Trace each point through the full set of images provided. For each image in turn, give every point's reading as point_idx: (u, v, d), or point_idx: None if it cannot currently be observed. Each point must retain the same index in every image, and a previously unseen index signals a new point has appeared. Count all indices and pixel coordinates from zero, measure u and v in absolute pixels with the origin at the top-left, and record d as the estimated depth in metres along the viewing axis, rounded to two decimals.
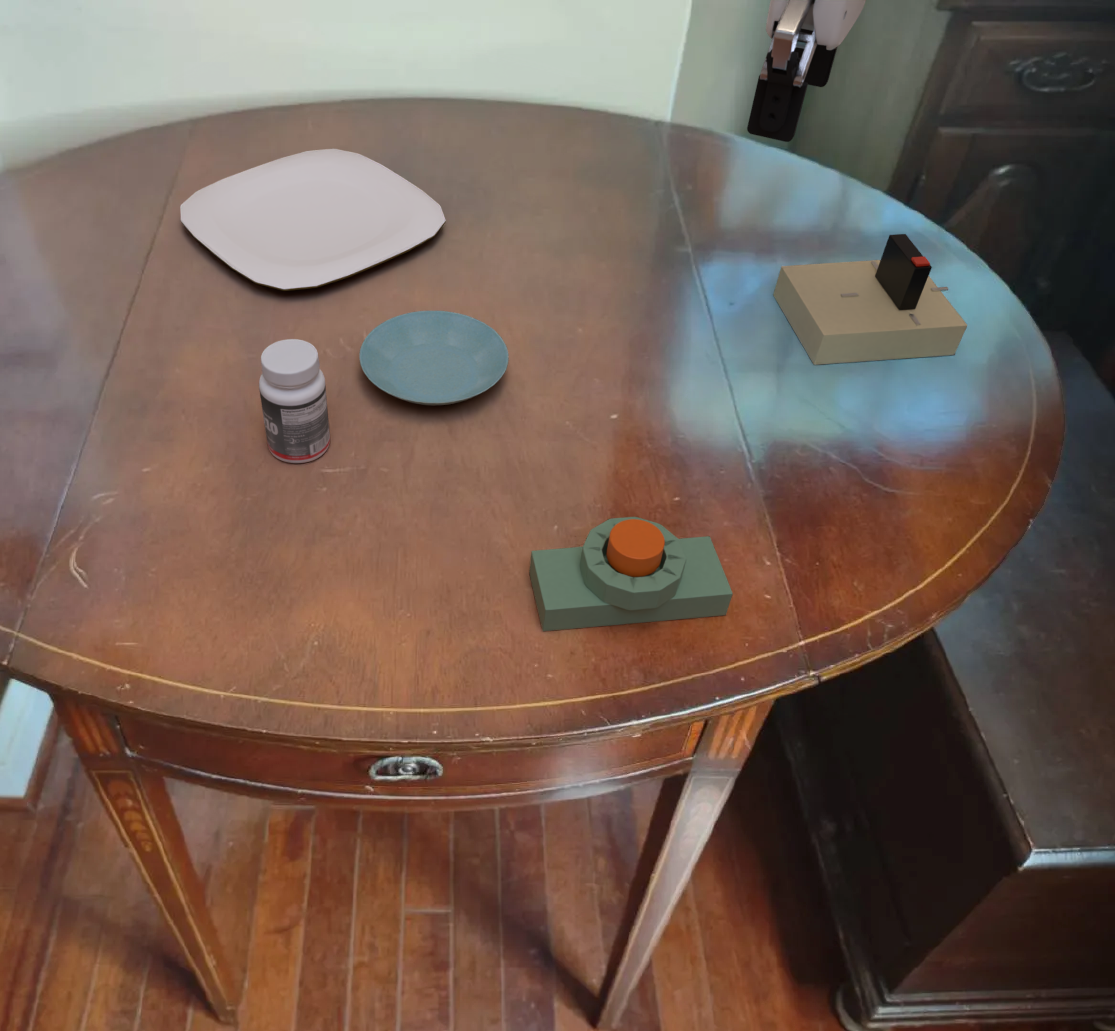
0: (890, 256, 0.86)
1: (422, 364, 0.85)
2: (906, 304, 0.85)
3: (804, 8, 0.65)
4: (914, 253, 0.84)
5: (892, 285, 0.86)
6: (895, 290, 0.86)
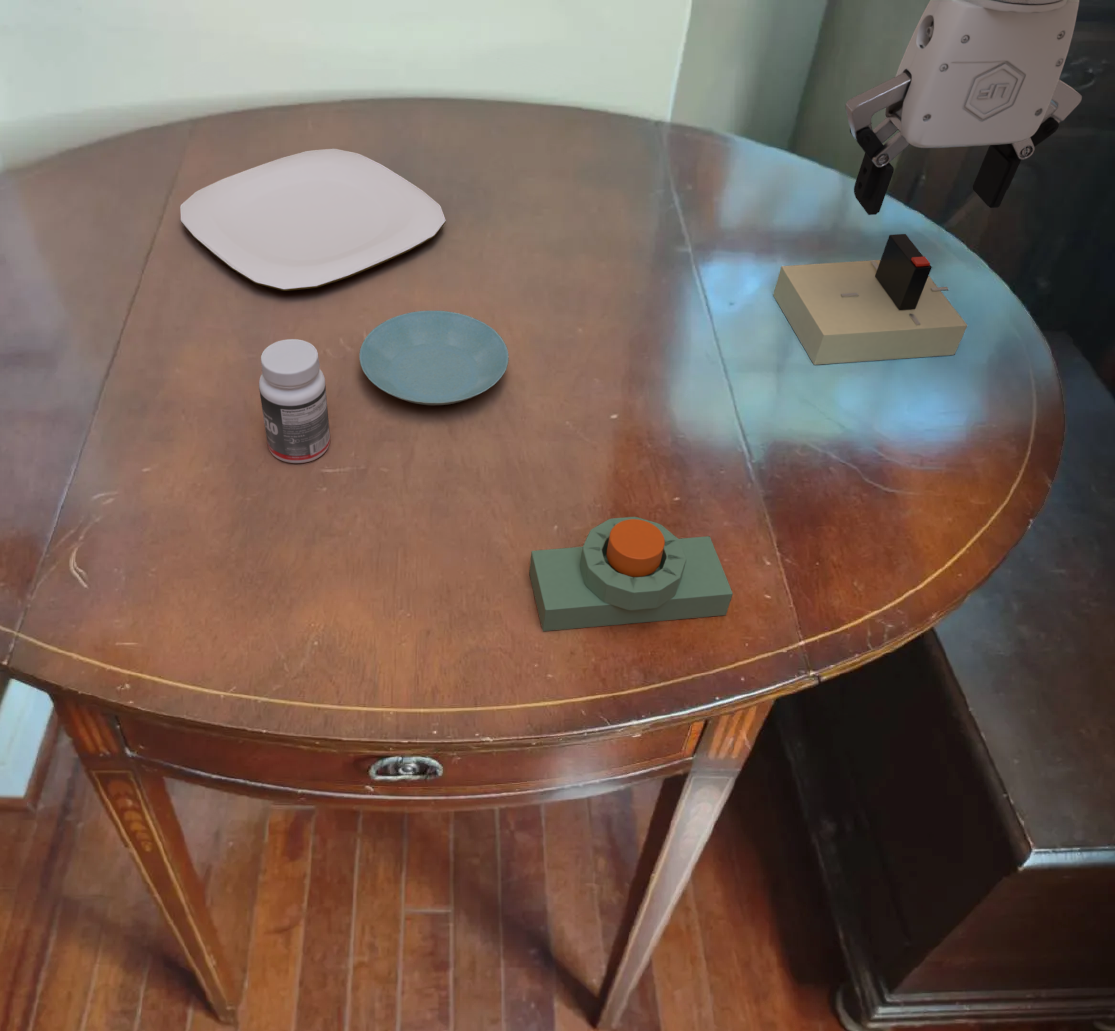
0: (890, 256, 0.86)
1: (422, 364, 0.85)
2: (906, 304, 0.85)
3: (882, 93, 0.74)
4: (914, 253, 0.84)
5: (892, 285, 0.86)
6: (895, 290, 0.86)
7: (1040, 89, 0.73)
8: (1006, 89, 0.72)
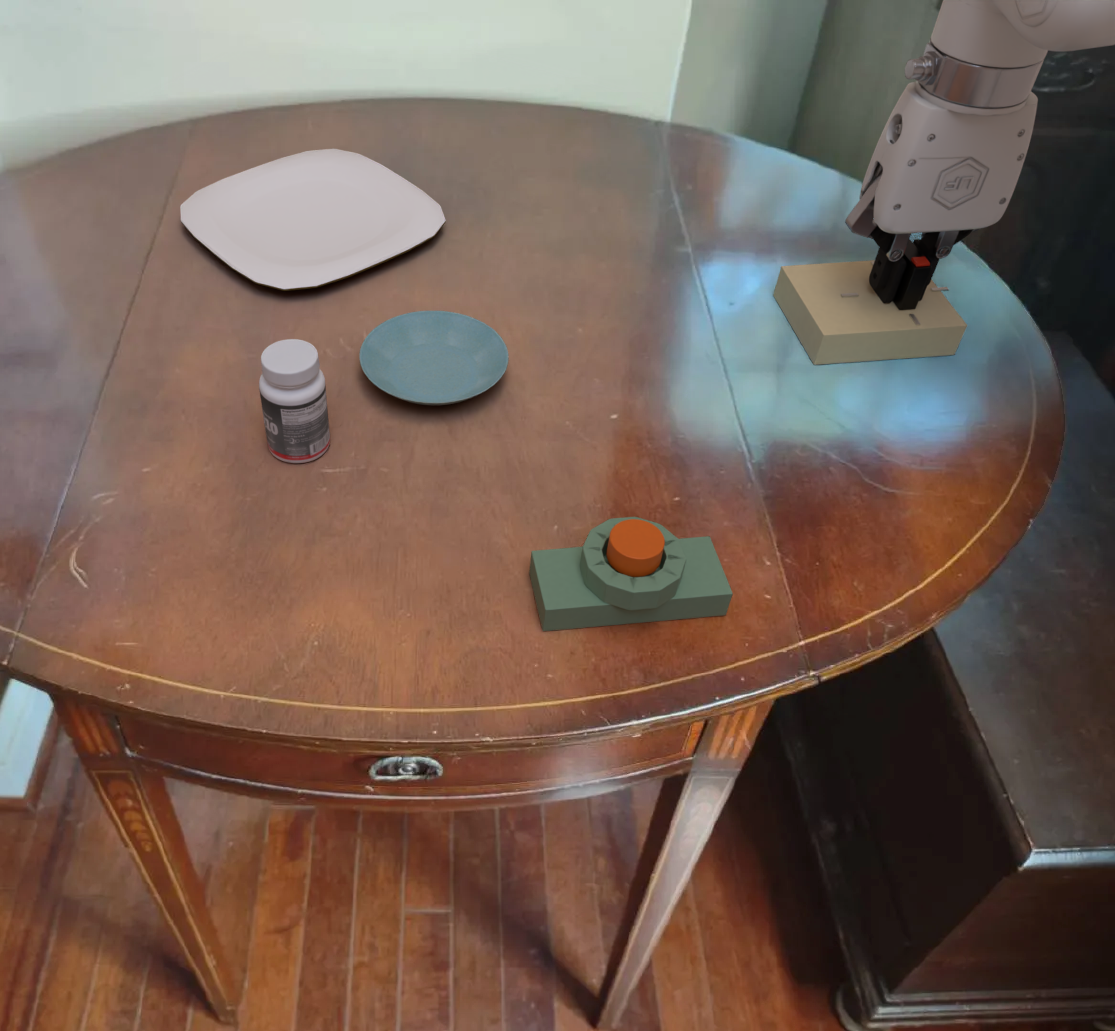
0: None
1: (422, 364, 0.85)
2: (906, 304, 0.85)
3: (867, 205, 0.80)
4: (914, 253, 0.84)
5: None
6: None
7: (1003, 181, 0.78)
8: (971, 181, 0.77)
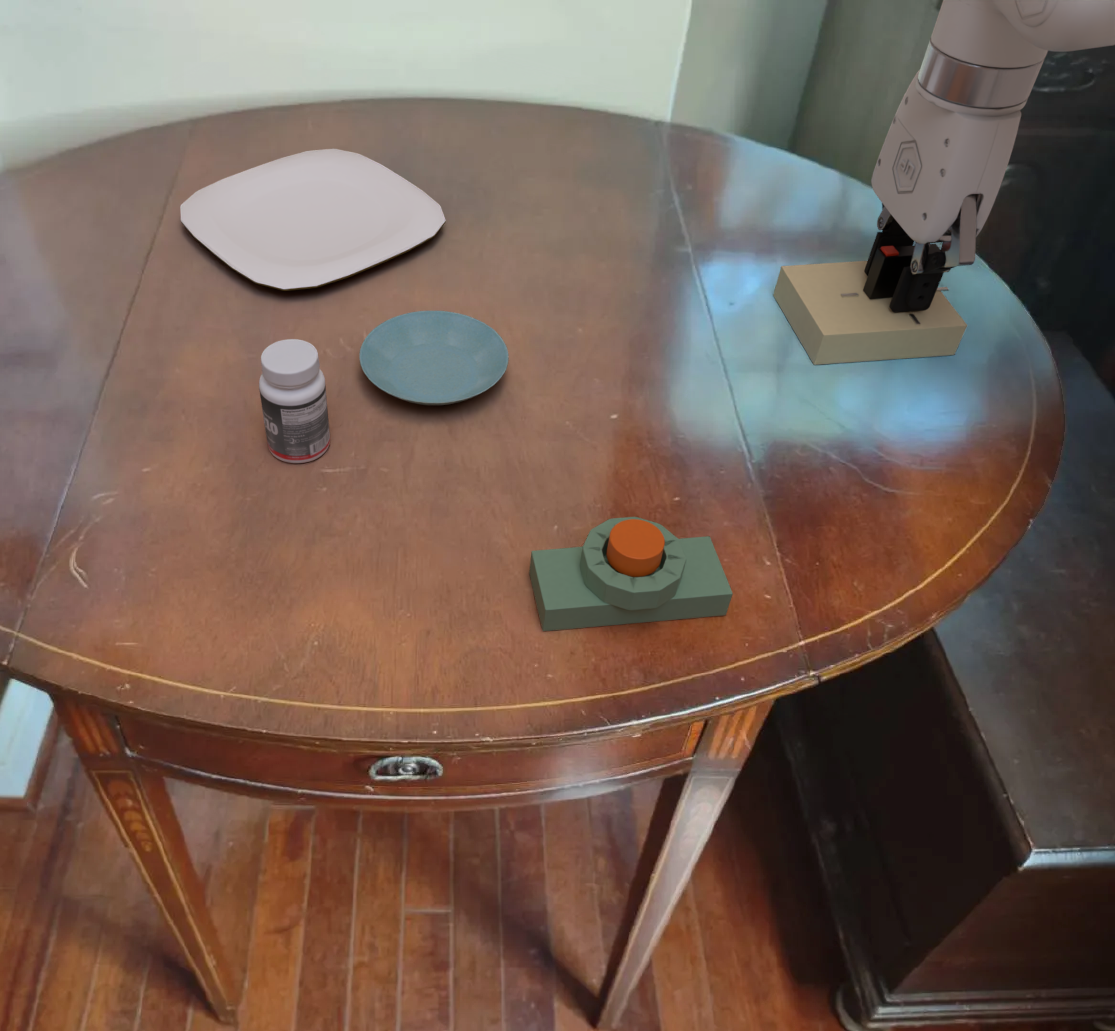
0: None
1: (422, 364, 0.85)
2: (866, 287, 0.87)
3: None
4: (905, 251, 0.84)
5: None
6: None
7: (928, 191, 0.77)
8: (912, 171, 0.78)
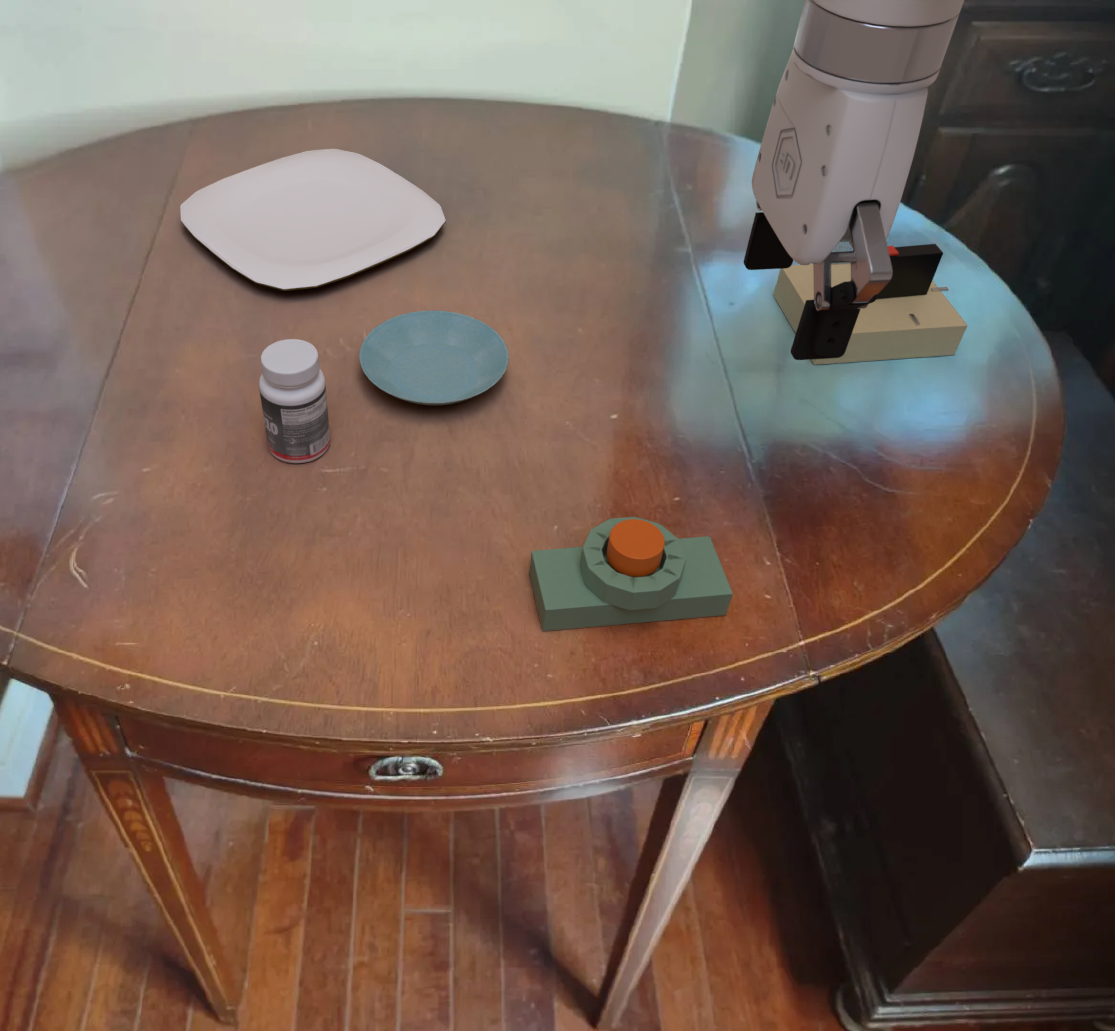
0: None
1: (422, 364, 0.85)
2: None
3: None
4: (905, 251, 0.84)
5: None
6: None
7: (808, 195, 0.57)
8: (792, 169, 0.59)
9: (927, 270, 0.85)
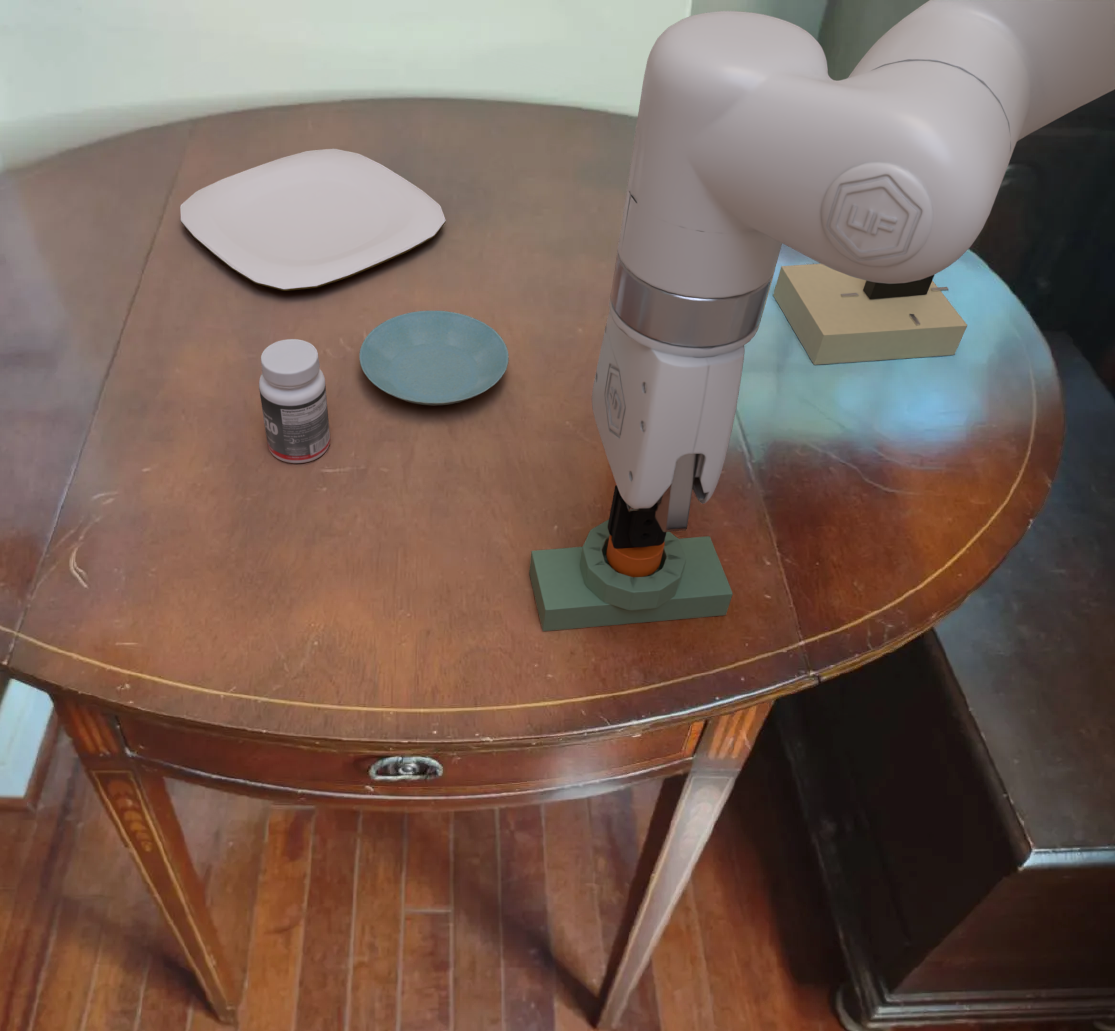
0: None
1: (422, 364, 0.85)
2: (866, 287, 0.87)
3: None
4: None
5: None
6: None
7: (632, 444, 0.54)
8: (618, 409, 0.56)
9: None
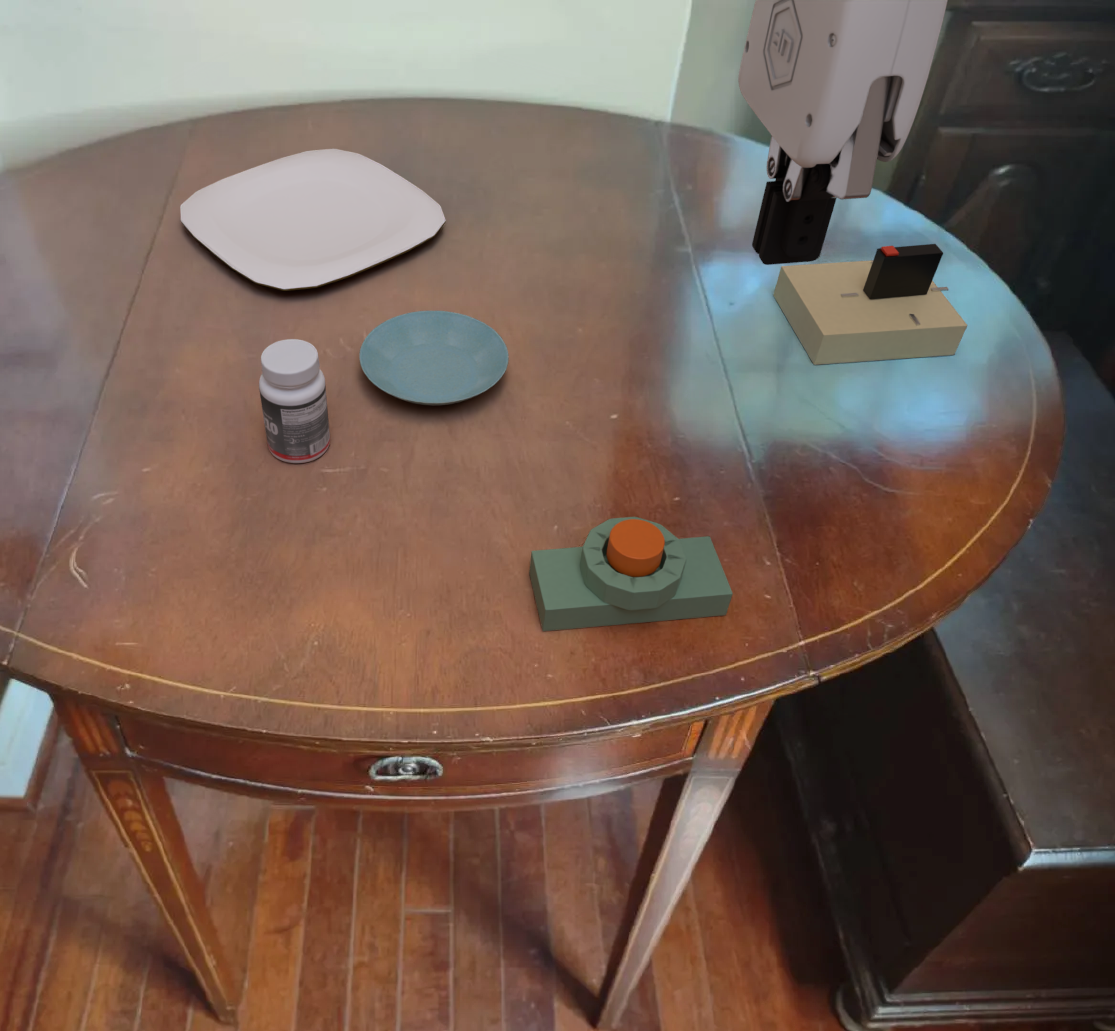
0: None
1: (422, 364, 0.85)
2: (866, 287, 0.87)
3: None
4: (905, 251, 0.84)
5: None
6: None
7: (812, 76, 0.46)
8: (789, 49, 0.48)
9: (927, 270, 0.85)
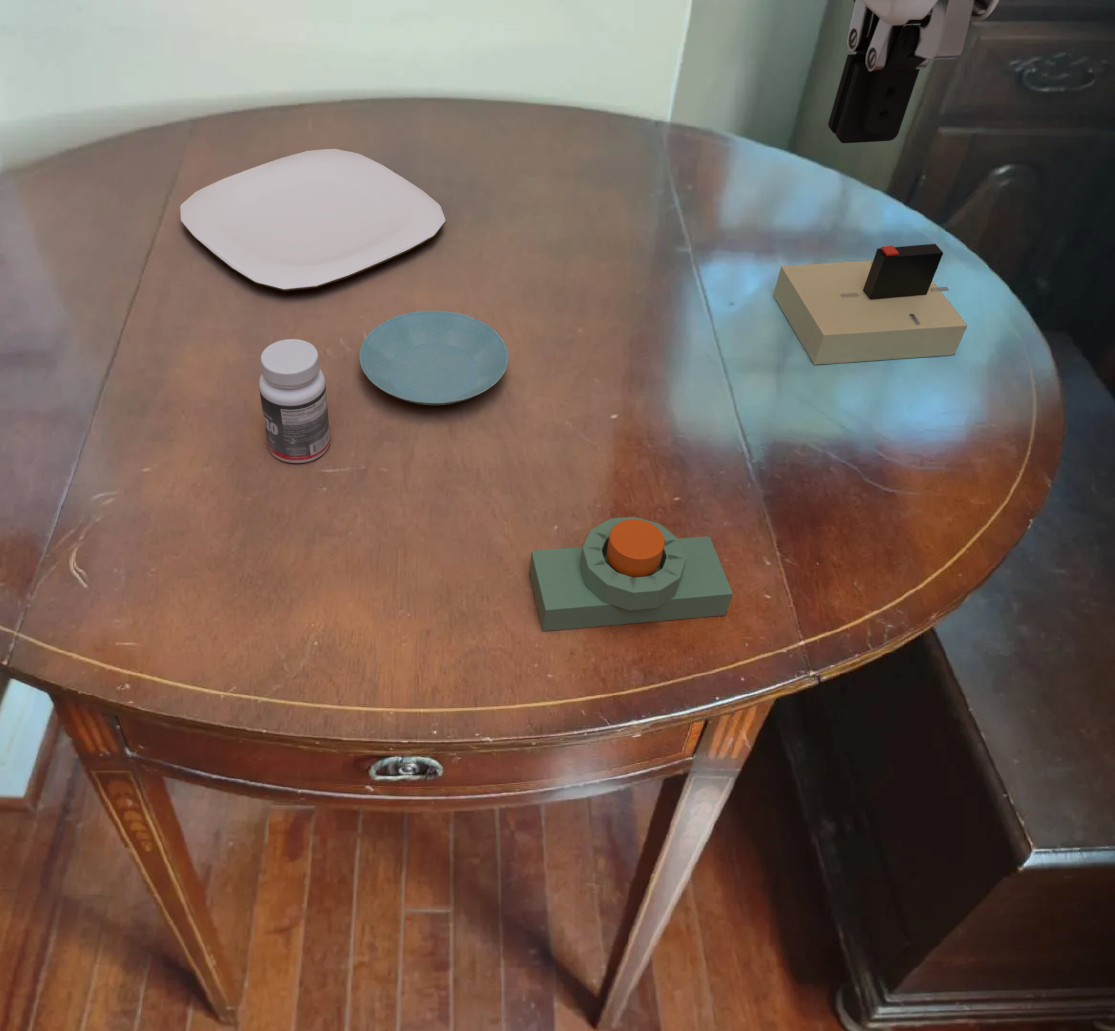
0: None
1: (422, 364, 0.85)
2: (866, 287, 0.87)
3: None
4: (905, 251, 0.84)
5: None
6: None
7: None
8: None
9: (927, 270, 0.85)
